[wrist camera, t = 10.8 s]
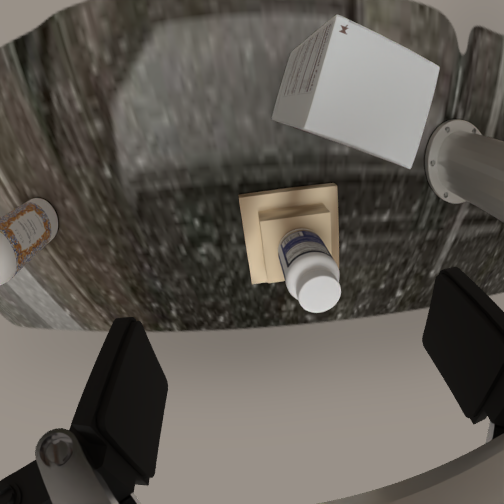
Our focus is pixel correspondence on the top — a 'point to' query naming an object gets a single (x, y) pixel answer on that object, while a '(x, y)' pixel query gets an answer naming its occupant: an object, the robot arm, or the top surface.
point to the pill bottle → (309, 270)
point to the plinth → (283, 202)
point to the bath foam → (25, 235)
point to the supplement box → (358, 91)
